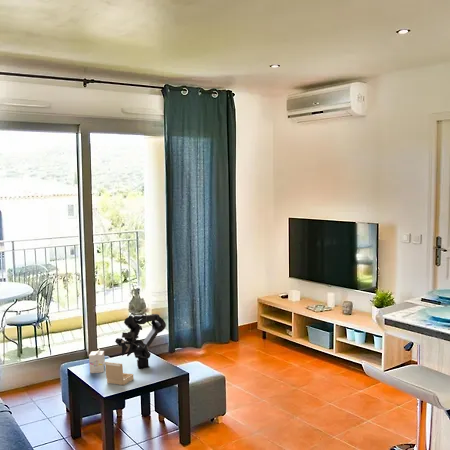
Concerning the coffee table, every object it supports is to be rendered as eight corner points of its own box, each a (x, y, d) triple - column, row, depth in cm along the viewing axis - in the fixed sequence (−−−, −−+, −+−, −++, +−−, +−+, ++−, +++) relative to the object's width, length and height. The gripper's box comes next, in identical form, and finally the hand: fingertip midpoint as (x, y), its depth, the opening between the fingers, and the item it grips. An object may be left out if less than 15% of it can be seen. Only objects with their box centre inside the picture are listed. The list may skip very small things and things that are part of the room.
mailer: (117, 377, 308) (116, 372, 308) (133, 379, 303) (133, 374, 303) (107, 383, 299) (106, 378, 299) (123, 385, 294) (123, 380, 294)
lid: (105, 361, 298) (104, 362, 297) (122, 363, 293) (121, 364, 292) (106, 378, 299) (105, 378, 298) (123, 380, 294) (122, 380, 293)
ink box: (92, 368, 325) (90, 348, 324) (105, 367, 326) (104, 347, 325) (89, 373, 317) (88, 352, 316) (103, 372, 317) (101, 351, 316)
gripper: (115, 325, 313) (106, 348, 304) (140, 327, 305) (131, 350, 296) (124, 334, 321) (114, 356, 311) (148, 336, 313) (140, 359, 304)
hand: (124, 355), depth 306 cm, fingers open, 3 cm apart
